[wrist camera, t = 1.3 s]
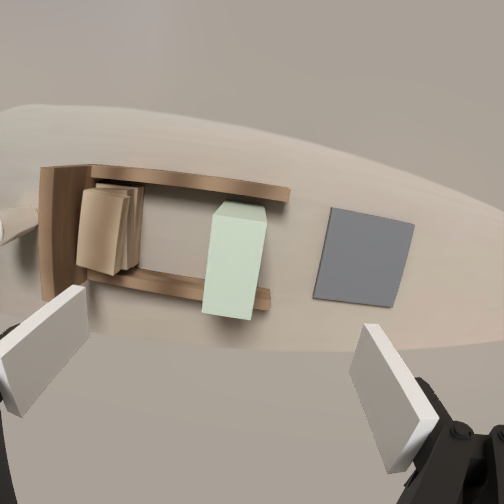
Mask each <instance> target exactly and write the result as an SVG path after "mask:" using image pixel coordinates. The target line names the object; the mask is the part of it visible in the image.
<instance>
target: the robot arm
mask: <svg viewBox="0 0 504 504" xmlns="http://www.w3.org/2000/svg"><path fill="white" fill-rule="evenodd" d="M89 337H90V331H89V322H88V311H87V299H86V287H83V286H78V285H71V286H70V287H69V288H67V289H66V290H65V291H63V292H62V293H61V294H59V295H58V296H56V297H55V298H54V299H52V300H51V301H50V302H48V303H47V304H46V305H44V306H43V307H42V308H40V309H39V310H38V311H37V312H35V313H34V314H33V315H31V316H30V317H29V318H27V319H26V320H25V321H24V322H22V323H21V324H20V323H19V324H17V325H14V326H12V327H10V328H9V329H7V330H6V331H5V332H3V334H1V335H0V402H1V401H2V400H3V401H4V404H5V406H6V409H7V411H8V412H10V413H12V414H14V415H16V416H19V417H21V418H22V417H23V416H24V415H25V413H26V412H27V411H28V410H29V408H30V407H31V406H32V405H33V403H34V402H35V401H36V400H37V398H38V397H39V396H40V395H41V394H42V392H43V391H44V390H45V389H46V387H47V386H48V385H49V384H50V383H51V381H52V380H53V379H54V378H55V377H56V375H57V374H58V373H59V372H60V371H61V370H62V368H63V367H64V366H65V365H66V364H67V363H68V361H69V360H70V359H71V358H72V357H73V355H74V354H75V353H76V352H77V351H78V350H79V349H80V347H81V346H82V345H83V344H84V343H85V342H86V341H87V340H88V338H89ZM349 373H350V376H351V378H352V381H353V383H354V386H355V388H356V391H357V393H358V396H359V399H360V401H361V404H362V407H363V409H364V412H365V414H366V417H367V420H368V422H369V425H370V428H371V430H372V432H373V436H374V438H375V441H376V444H377V447H378V449H379V452H380V455H381V458H382V460H383V463H384V466H385V469H386V472H387V474H392V473H399V472H405V471H406V470H407V469H408V467H409V466H410V465H411V463H412V462H414V465H415V467H416V470H415V471H414V472H413V474H412V475H411V476H410V478H409V479H408V481H407V482H406V483H405V484H404V486H405V489H404V491H403V493H402V495H401V496H400V498H399V500H398V502H397V503H396V504H504V425H497V426H495V427H494V428H493V429H492V430H491V432H490V433H489V435H480V434H474V432H473V430H472V429H471V428H470V427H469V426H468V425H467V424H465V423H463V422H459V421H453V420H452V418H451V417H450V415H449V414H448V413H447V411H446V409H445V408H444V406H443V405H442V403H441V401H440V400H438V399H439V398H438V397H437V395H436V394H434V391H433V390H432V388H431V387H430V385H429V384H428V383H427V382H425V381H424V380H423V379H422V378H420V377H418V378H414V377H413V375H412V374H411V372H410V371H409V369H408V368H407V366H406V365H405V363H404V362H403V360H402V359H401V357H400V356H399V354H398V353H397V351H396V350H395V348H394V347H393V345H392V344H391V342H390V341H389V339H388V338H387V336H386V335H385V333H384V332H383V330H382V329H381V328H380V326H379V325H378V324H365V323H364V324H363V327H362V331H361V334H360V338H359V341H358V344H357V348H356V351H355V354H354V357H353V361H352V364H351V367H350V370H349ZM0 504H17V500H16V496H15V492H14V488H13V484H12V480H11V475H10V470H9V465H8V460H7V454H6V448H5V442H4V435H3V427H2V419H1V411H0Z"/></svg>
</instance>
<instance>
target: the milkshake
mask: <svg viewBox="0 0 504 504" xmlns="http://www.w3.org/2000/svg"><path fill="white" fill-rule="evenodd" d="M38 220H39V215H38V213H37V210H36V209H35V208H34V207H33V206H31V205H28V206H21V207H14V208H5V209H0V248H1V247H3V246H4V245H6V244H8V243H9V242H11V241H13V240H15V239H17V238H19V237H21V236H23V235H24V234H26V233H28V232H30V231H32V230H34V229H35V228H36V226H37V225H38Z"/></svg>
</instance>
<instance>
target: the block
mask: <svg viewBox="0 0 504 504" xmlns="http://www.w3.org/2000/svg"><path fill="white" fill-rule="evenodd" d="M266 227H267V219H266V213H265V207H264V206H263V205H257V204H250V203H244V202H237V201H230V200H225V201H224V202H223V204H222V205H221V206H220V207H219V208H218V209H217V210H216V212H215V213H214V214H213V218H212V226H211V234H210V242H209V250H208V259H207V267H206V276H205V285H204V294H203V304H202V313H206V314H213V315H219V316H225V317H232V318H238V319H245V320H251V316H252V310H253V304H254V298H255V292H256V287H257V281H258V275H259V269H260V263H261V257H262V251H263V245H264V239H265V233H266Z"/></svg>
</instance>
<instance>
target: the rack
mask: <svg viewBox="0 0 504 504" xmlns="http://www.w3.org/2000/svg"><path fill="white" fill-rule="evenodd" d="M103 178H105V179H116V180H126V181H136V182H145V183H154V184H163V185H171V186H179V187H187V188H195V189H203V190H210V191H217V192H225V193H232V194H238V195H245V196H252V197H258V198H265V199H271V200H277V201H283V202H289V197H290V191H291V190H290V189H289V188H287V187H281V186H275V185H269V184H262V183H256V182H249V181H242V180H236V179H229V178H221V177H214V176H206V175H198V174H190V173H182V172H173V171H164V170H154V169H144V168H134V167H122V166H110V165H97V164H86V165H68V166H53V167H41V171H40V186H39V262H40V278H41V290H42V300H43V301H46V302H50V301H51V300H52V299H54V298H55V297H56V296H58V295H59V294H61V293H62V292H63V291H65V290H66V289H67V288H69V287H70V286H71V285H78V286H79V285H80V284H82V283H83V282H84V281H86V280H87V279H89V280H94V281H99V282H103V283H108V284H113V285H118V286H123V287H128V288H133V289H139V290H144V291H149V292H155V293H160V294H166V295H171V296H177V297H183V298H189V299H195V300H201V301H203V294H204V285H205V279H198V278H192V277H186V276H180V275H174V274H168V273H162V272H156V271H150V270H145V269H139V268H129V269H128V270H124V269H120V271H119V272H117V273H116V274H115V275H114V276H112V275H109V274H105V273H102V272H99V271H95V270H92V269H89V268H85V267H82V266H79V265H76V260H77V245H78V233H79V223H80V214H81V205H82V198H83V190H85V189H90V188H96V183H101V182H103ZM270 302H271V296H270V289H264V288H257V287H256V292H255V298H254V304H253V309H260V310H267V311H269V308H270Z"/></svg>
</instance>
